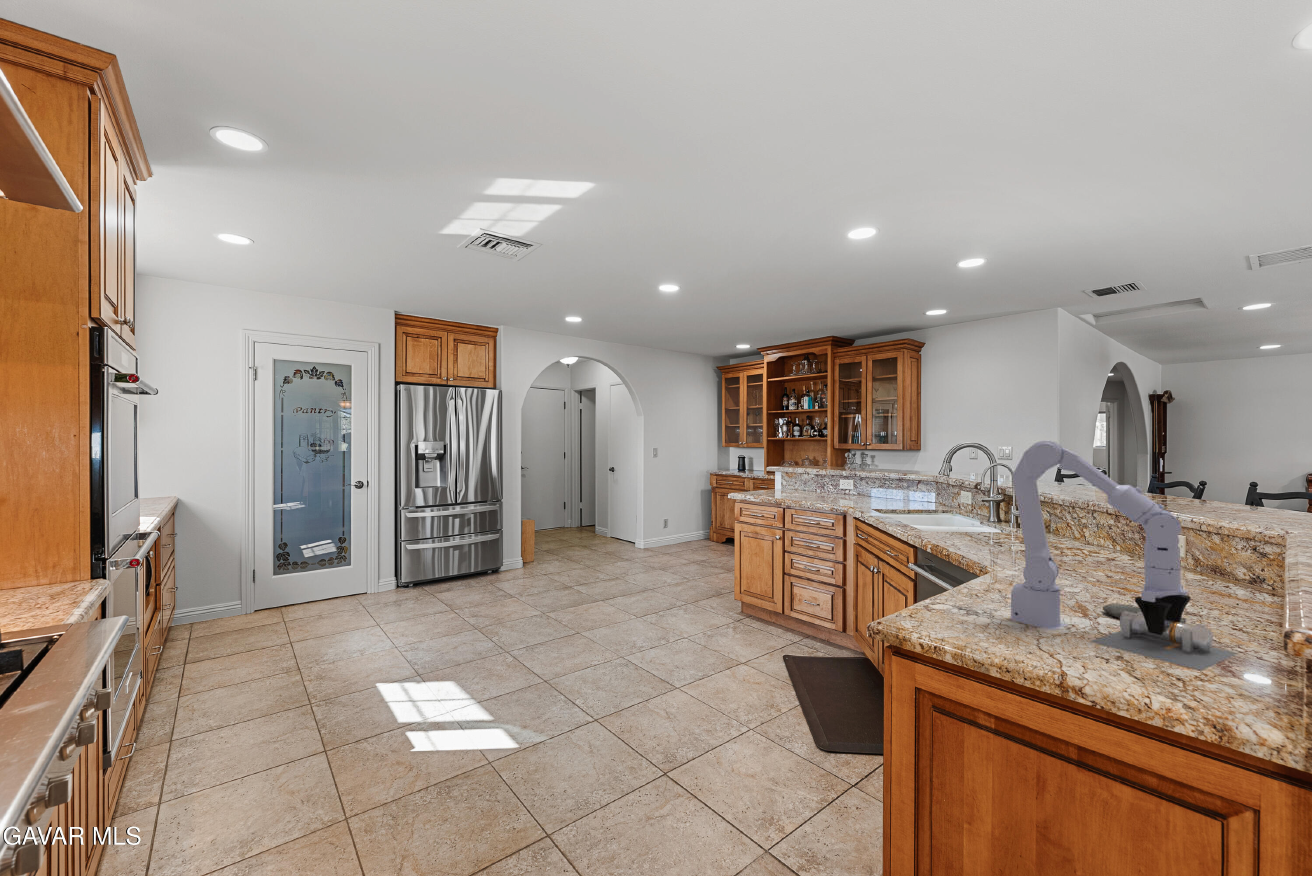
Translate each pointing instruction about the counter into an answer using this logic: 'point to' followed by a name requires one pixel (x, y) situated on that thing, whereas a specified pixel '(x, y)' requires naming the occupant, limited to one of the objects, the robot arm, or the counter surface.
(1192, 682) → the counter surface
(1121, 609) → the stone
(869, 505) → the counter surface
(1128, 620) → the collar
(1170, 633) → the tube
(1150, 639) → the board
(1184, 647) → the collar
